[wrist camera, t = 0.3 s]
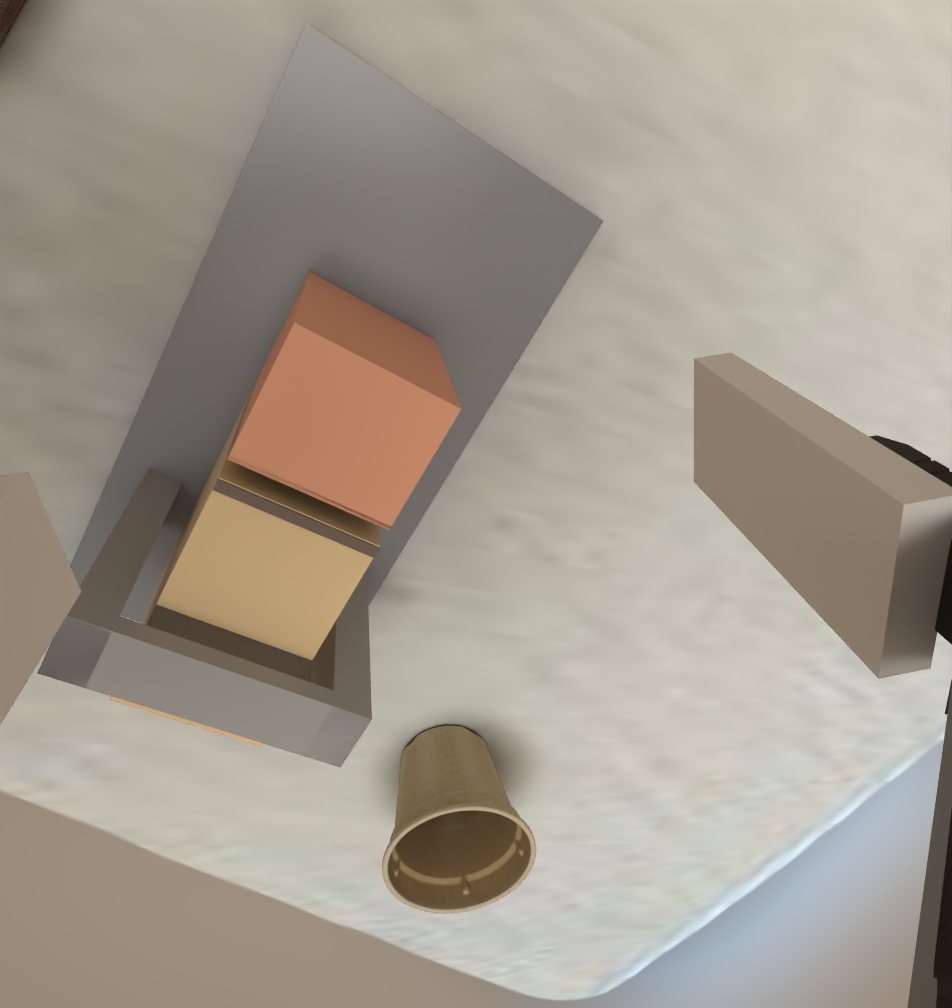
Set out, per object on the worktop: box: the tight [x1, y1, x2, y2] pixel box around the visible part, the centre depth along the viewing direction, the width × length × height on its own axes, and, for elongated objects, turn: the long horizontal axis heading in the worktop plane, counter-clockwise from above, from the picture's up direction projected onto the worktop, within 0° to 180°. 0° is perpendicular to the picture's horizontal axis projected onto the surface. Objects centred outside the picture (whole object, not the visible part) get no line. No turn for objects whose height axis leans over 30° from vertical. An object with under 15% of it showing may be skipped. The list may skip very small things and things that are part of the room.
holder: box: [38, 23, 603, 767], centre depth 35 cm, size 16×32×14 cm, turn 149°
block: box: [228, 271, 461, 530], centre depth 34 cm, size 7×6×10 cm
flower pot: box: [382, 726, 536, 914], centre depth 50 cm, size 9×9×9 cm
